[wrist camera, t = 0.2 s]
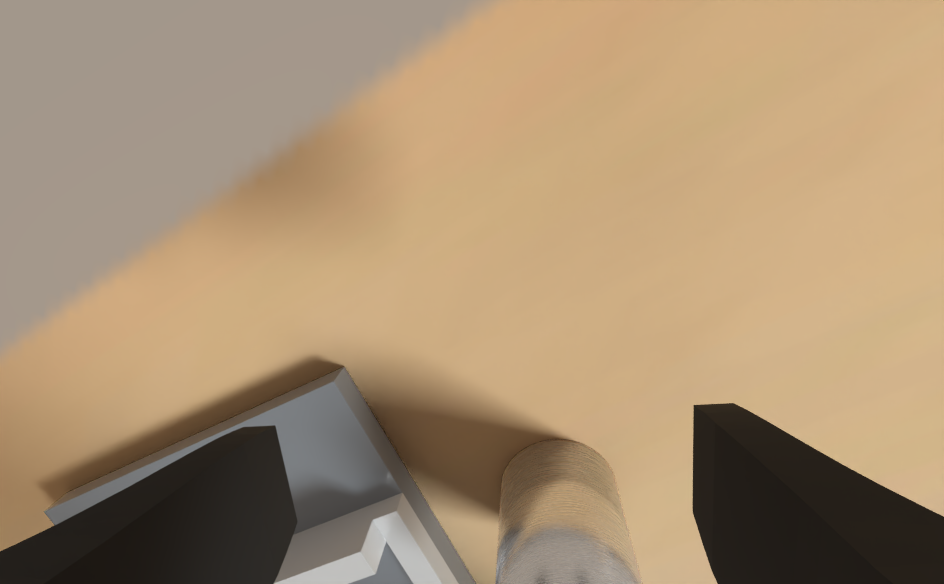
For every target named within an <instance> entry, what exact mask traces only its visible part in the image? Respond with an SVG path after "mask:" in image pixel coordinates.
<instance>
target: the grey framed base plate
mask: <svg viewBox="0 0 944 584" xmlns="http://www.w3.org/2000/svg"><path fill="white" fill-rule="evenodd" d="M274 425H275V426H276V430H277V435H278V439H279V443H280V448H281V452H282V456H283V461H284V465H285V469H286V473H287V478H288V482H289V486H290V491H291V495H292V499H293V504H294V508H295V512H296V517H297V521H298V522H297V525H296V528H295V531H294V534H293V536H292V539H291V542H290V545H289V548H288V551H287V553H286V556H285V558H284V561H283V563H282V566H281V568H280V571H279V574H278V576H277V578H276V580H275V582H274V584H476V583H475V581H474V579H473V578H472V576H471V574H470V573H469V571H468V569H467V568H466V566H465V564H464V563H463V561H462V560H461V558H460V556H459V555H458V553H457V551H456V550H455V548H454V546H453V545H452V543H451V541H450V540H449V538H448V536H447V535H446V533H445V532H444V530H443V528H442V527H441V525H440V523H439V522H438V520H437V518H436V517H435V515H434V513H433V512H432V510H431V508H430V507H429V505H428V504H427V502H426V500H425V499H424V497H423V495H422V494H421V492H420V490H419V489H418V487H417V485H416V484H415V482H414V481H413V479H412V477H411V476H410V474H409V472H408V471H407V469H406V467H405V466H404V464H403V462H402V461H401V459H400V457H399V456H398V454H397V453H396V451H395V449H394V448H393V446H392V444H391V443H390V441H389V439H388V438H387V436H386V434H385V433H384V431H383V429H382V428H381V426H380V425H379V423H378V421H377V420H376V418H375V416H374V415H373V413H372V411H371V410H370V408H369V406H368V405H367V403H366V401H365V400H364V398H363V397H362V395H361V393H360V392H359V390H358V388H357V387H356V385H355V383H354V382H353V380H352V378H351V377H350V375H349V373H348V372H347V370H346V369H345V367H342V368H340V369H338V370H336V371H334V372H331V373H329V374H327V375H325V376H323V377H320V378H318V379H316V380H314V381H312V382H309V383H307V384H305V385H303V386H301V387H298V388H296V389H294V390H292V391H290V392H287V393H285V394H283V395H281V396H279V397H276V398H274V399H272V400H270V401H268V402H265V403H263V404H261V405H259V406H257V407H254V408H252V409H250V410H248V411H245V412H243V413H241V414H239V415H237V416H234V417H232V418H230V419H228V420H226V421H223V422H221V423H219V424H217V425H215V426H212V427H210V428H208V429H206V430H204V431H201V432H199V433H197V434H195V435H193V436H190V437H188V438H186V439H184V440H182V441H179V442H177V443H175V444H173V445H171V446H168V447H166V448H164V449H162V450H160V451H157V452H155V453H153V454H151V455H149V456H146V457H144V458H142V459H140V460H138V461H135V462H133V463H131V464H129V465H127V466H124V467H122V468H120V469H118V470H116V471H113V472H111V473H109V474H107V475H105V476H102V477H100V478H98V479H96V480H93V481H91V482H89V483H87V484H85V485H82V486H80V487H78V488H76V489H74V490H71V491H69V492H67V493H66V494H65V495H63V496H62V497H61V498H60V499H59V500H57V501H56V502H55V503H54V504H52V505H51V506H50V507H49V508H48V509H46V510H45V511H44V513H45V514H46V515H47V516H48V517H49V519H50V520H51V521H52V522H53V524H54V525H57V524H59V523H60V522H62V521H64V520H66V519H68V518H70V517H72V516H74V515H76V514H78V513H80V512H82V511H83V510H85V509H87V508H89V507H91V506H93V505H95V504H97V503H99V502H101V501H103V500H105V499H106V498H108V497H110V496H112V495H114V494H116V493H118V492H120V491H122V490H124V489H125V488H127V487H129V486H131V485H133V484H135V483H136V482H138V481H140V480H142V479H144V478H145V477H147V476H149V475H151V474H153V473H154V472H156V471H158V470H160V469H162V468H163V467H165V466H167V465H169V464H171V463H173V462H174V461H176V460H178V459H180V458H182V457H183V456H185V455H187V454H189V453H191V452H193V451H194V450H196V449H198V448H200V447H202V446H204V445H206V444H208V443H210V442H211V441H213V440H215V439H217V438H219V437H221V436H223V435H226V434H228V433H230V432H232V431H235V430H237V429H240V428H242V427H253V426H274Z"/></svg>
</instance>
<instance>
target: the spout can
mask: <svg viewBox="0 0 944 584" xmlns="http://www.w3.org/2000/svg"><path fill="white" fill-rule="evenodd" d="M496 584H643V583H642V579H641V575H640V571H639V568H638V564H637V560H636V556H635V552H634V549H633V545H632V541H631V537H630V533H629V529H628V526H627V522H626V518H625V514H624V510H623V506H622V503H621V499H620V495H619V491H618V487H617V483H616V480H615V476H614V473H613V471H612V469H611V467H610V466H609V464H608V463H607V461H606V460H605V459H604V458H603V457H602V456H601V455H600V454H599V453H597V452H596V451H595V450H593V449H592V448H590V447H588V446H586V445H583V444H581V443H578V442H574V441H570V440H560V439H555V440H546V441H541V442H538V443H535V444H532V445H530V446H528V447H526V448H525V449H523V450H521V451H520V452H519V453H518V454H516V455H515V456H514V457H513V458H512V460H511V461H510V462H509V464H508V465H507V467H506V469H505V471H504V474H503V477H502V482H501V498H500V515H499V533H498V551H497V568H496Z"/></svg>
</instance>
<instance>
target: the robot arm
mask: <svg viewBox="0 0 944 584" xmlns="http://www.w3.org/2000/svg"><path fill="white" fill-rule="evenodd" d="M693 514H694V517H695V520H696V523H697V527H698V530H699V533H700V536H701V539H702V543H703V546H704V549H705V552H706V555H707V557H708V560H709V563H710V566H711V569H712V572H713V574H714V576H715V578H716V581H717V583H718V584H944V517H943V516H941V515H939V514H937V513H935V512H933V511H931V510H929V509H927V508H925V507H923V506H921V505H919V504H917V503H915V502H913V501H911V500H909V499H907V498H905V497H903V496H901V495H899V494H897V493H895V492H893V491H891V490H889V489H887V488H885V487H883V486H881V485H879V484H877V483H876V482H874V481H872V480H870V479H868V478H866V477H864V476H862V475H861V474H859V473H857V472H855V471H853V470H851V469H850V468H848V467H846V466H844V465H842V464H840V463H839V462H837V461H835V460H833V459H832V458H830V457H828V456H826V455H824V454H823V453H821V452H819V451H817V450H816V449H814V448H812V447H810V446H809V445H807V444H805V443H803V442H802V441H800V440H798V439H797V438H795V437H793V436H791V435H790V434H788V433H786V432H785V431H783V430H781V429H779V428H778V427H776V426H774V425H772V424H771V423H769V422H767V421H766V420H764V419H762V418H760V417H759V416H757V415H755V414H753V413H751V412H750V411H748V410H746V409H744V408H742V407H740V406H738V405H736V404H733V403H729V404H708V405H694V433H693ZM297 522H298V521H297V517H296V512H295V508H294V504H293V499H292V495H291V491H290V486H289V482H288V478H287V473H286V469H285V465H284V461H283V456H282V452H281V448H280V443H279V439H278V435H277V430H276V426H275V425H274V426H253V427H242V428H240V429H237V430H235V431H232V432H230V433H228V434H226V435H223V436H221V437H219V438H217V439H215V440H213V441H211V442H210V443H208V444H206V445H204V446H202V447H200V448H198V449H196V450H194V451H193V452H191V453H189V454H187V455H185V456H183V457H182V458H180V459H178V460H176V461H174V462H173V463H171V464H169V465H167V466H165V467H163V468H162V469H160V470H158V471H156V472H154V473H153V474H151V475H149V476H147V477H145V478H144V479H142V480H140V481H138V482H136V483H135V484H133V485H131V486H129V487H127V488H125V489H124V490H122V491H120V492H118V493H116V494H114V495H112V496H110V497H108V498H106V499H105V500H103V501H101V502H99V503H97V504H95V505H93V506H91V507H89V508H87V509H85V510H83V511H82V512H80V513H78V514H76V515H74V516H72V517H70V518H68V519H66V520H64V521H62V522H60V523H59V524H57V525H55V526H53V527H51V528H49V529H47V530H45V531H43V532H41V533H39V534H36V535H34V536H32V537H30V538H28V539H26V540H24V541H22V542H20V543H18V544H16V545H13V546H11V547H9V548H7V549H5V550H3V551H0V584H274V582H275V580H276V578H277V576H278V574H279V571H280V568H281V566H282V563H283V561H284V558H285V556H286V553H287V551H288V548H289V545H290V542H291V539H292V536H293V534H294V531H295V528H296V525H297Z"/></svg>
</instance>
